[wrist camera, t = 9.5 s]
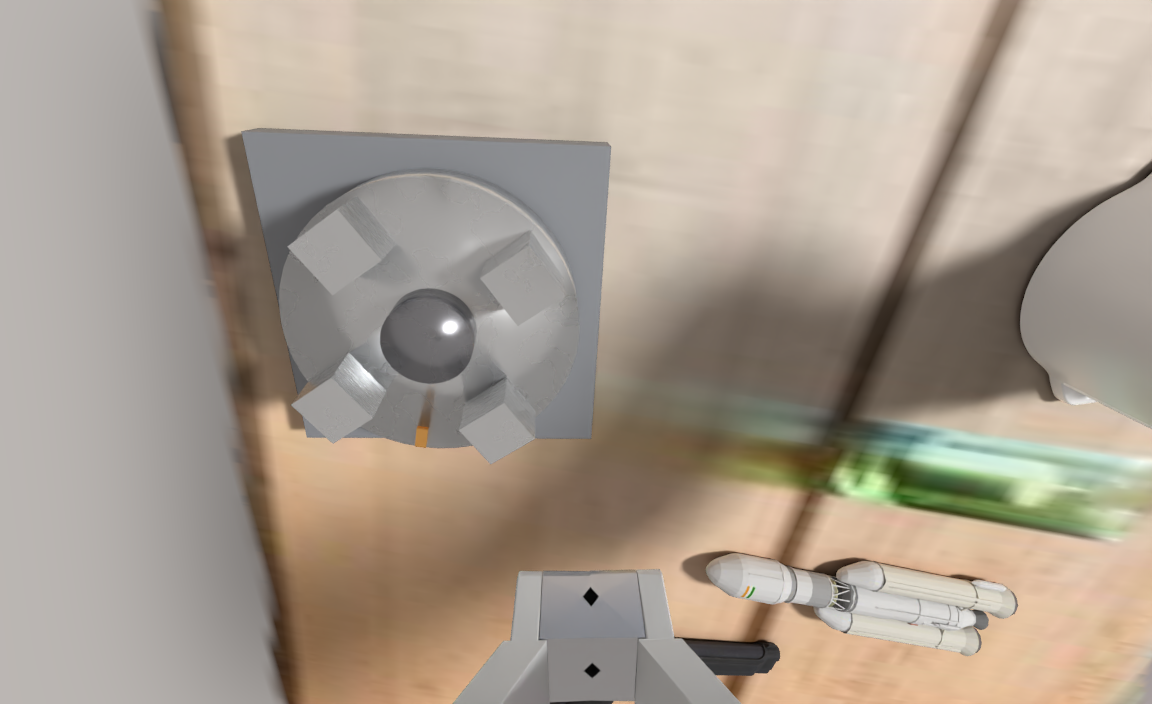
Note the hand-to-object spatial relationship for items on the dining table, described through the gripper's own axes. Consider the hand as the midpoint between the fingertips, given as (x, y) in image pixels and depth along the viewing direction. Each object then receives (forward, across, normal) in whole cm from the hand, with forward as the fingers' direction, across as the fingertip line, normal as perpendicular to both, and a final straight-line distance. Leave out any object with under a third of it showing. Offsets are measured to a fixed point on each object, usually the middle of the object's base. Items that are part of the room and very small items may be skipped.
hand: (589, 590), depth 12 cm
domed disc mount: (+24, +8, +3) cm, 26 cm away
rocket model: (+29, -25, +32) cm, 50 cm away
